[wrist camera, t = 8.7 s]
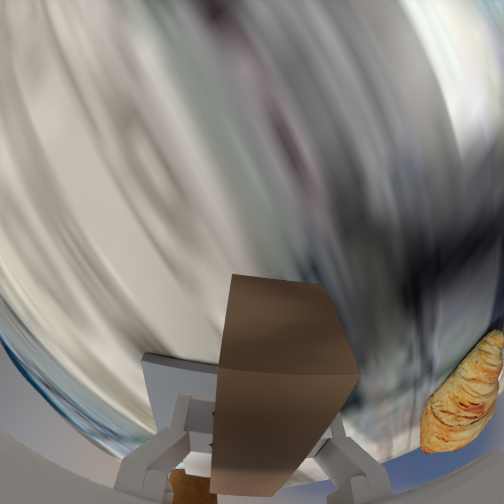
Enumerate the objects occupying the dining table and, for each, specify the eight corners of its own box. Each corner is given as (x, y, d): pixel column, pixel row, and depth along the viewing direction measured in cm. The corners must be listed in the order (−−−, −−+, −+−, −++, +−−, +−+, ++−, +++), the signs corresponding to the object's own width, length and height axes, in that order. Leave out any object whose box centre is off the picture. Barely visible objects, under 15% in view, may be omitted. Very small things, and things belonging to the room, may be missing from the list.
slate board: (144, 352, 17) (141, 360, 16) (343, 373, 17) (346, 381, 16) (167, 453, 24) (166, 459, 23) (287, 465, 24) (287, 470, 23)
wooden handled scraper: (375, 289, 9) (428, 369, 5) (277, 475, 15) (279, 517, 12) (170, 265, 8) (121, 349, 5) (186, 467, 15) (180, 509, 11)
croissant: (449, 308, 20) (457, 370, 13) (527, 311, 15) (550, 366, 8) (402, 428, 27) (391, 475, 21) (461, 430, 22) (457, 476, 16)
